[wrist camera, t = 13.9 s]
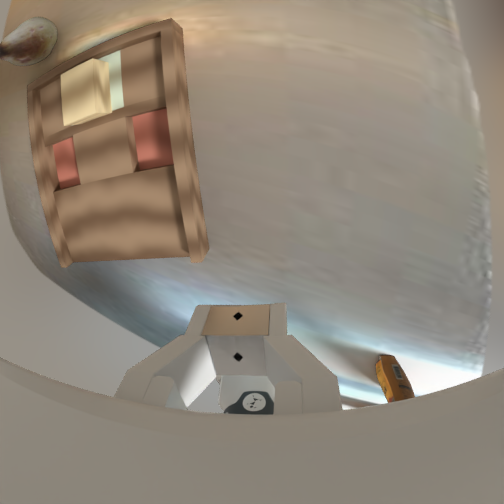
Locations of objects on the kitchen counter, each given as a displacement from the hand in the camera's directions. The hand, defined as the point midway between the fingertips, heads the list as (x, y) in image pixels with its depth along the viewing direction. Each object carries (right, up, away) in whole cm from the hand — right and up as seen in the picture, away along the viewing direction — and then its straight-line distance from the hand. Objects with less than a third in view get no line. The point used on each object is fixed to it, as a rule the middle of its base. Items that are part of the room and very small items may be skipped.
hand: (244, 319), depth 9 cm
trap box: (-21, +17, +26) cm, 38 cm away
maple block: (-22, +25, +20) cm, 39 cm away
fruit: (-36, +40, +17) cm, 56 cm away
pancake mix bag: (+31, -24, +41) cm, 57 cm away
